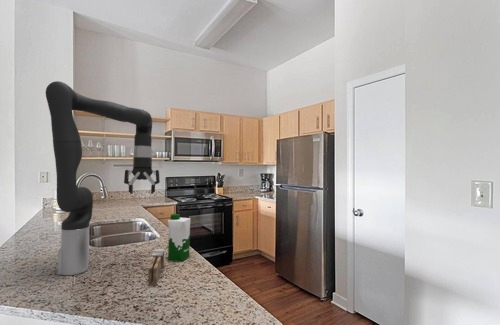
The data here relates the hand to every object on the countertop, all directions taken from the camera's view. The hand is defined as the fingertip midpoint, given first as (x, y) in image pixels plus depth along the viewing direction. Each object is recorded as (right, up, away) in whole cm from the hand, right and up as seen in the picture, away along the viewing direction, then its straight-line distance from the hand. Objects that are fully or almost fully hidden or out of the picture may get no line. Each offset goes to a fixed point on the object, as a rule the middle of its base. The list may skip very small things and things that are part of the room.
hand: (142, 193), depth 112 cm
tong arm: (+11, -30, -15) cm, 35 cm away
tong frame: (+11, -30, -13) cm, 34 cm away
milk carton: (+15, -31, +5) cm, 34 cm away
